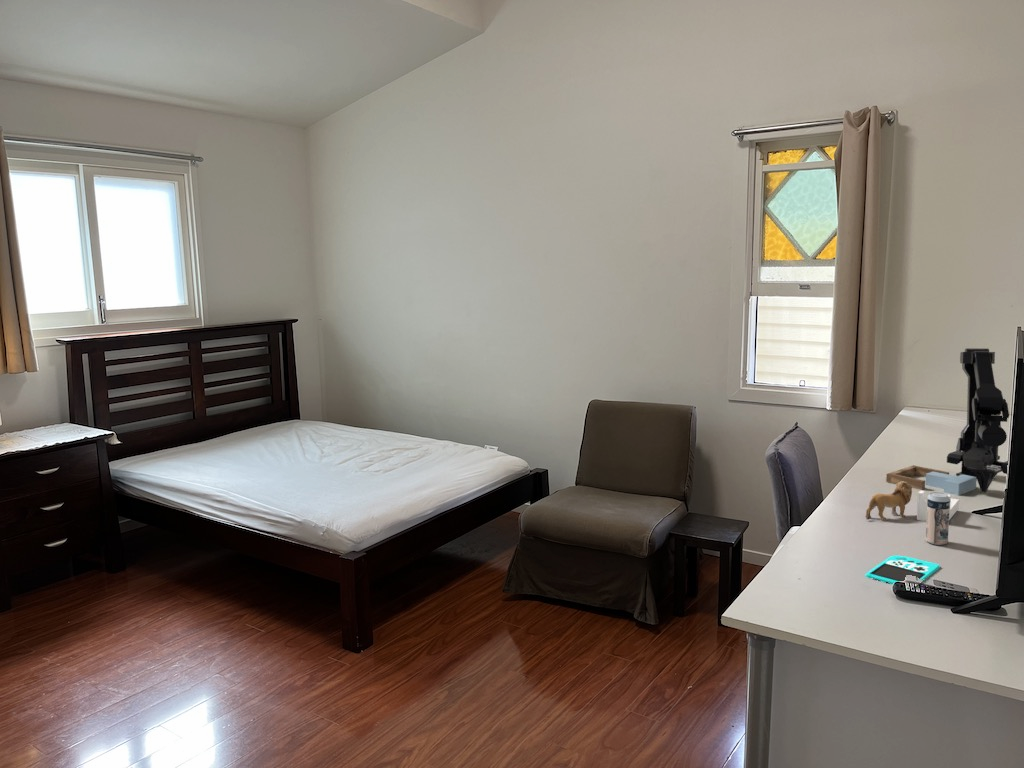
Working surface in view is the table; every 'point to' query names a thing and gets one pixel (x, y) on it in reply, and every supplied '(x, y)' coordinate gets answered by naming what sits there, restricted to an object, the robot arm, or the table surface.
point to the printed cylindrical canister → (937, 518)
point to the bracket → (923, 506)
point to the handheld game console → (901, 569)
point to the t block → (951, 482)
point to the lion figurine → (891, 500)
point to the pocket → (910, 471)
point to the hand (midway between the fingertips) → (983, 491)
